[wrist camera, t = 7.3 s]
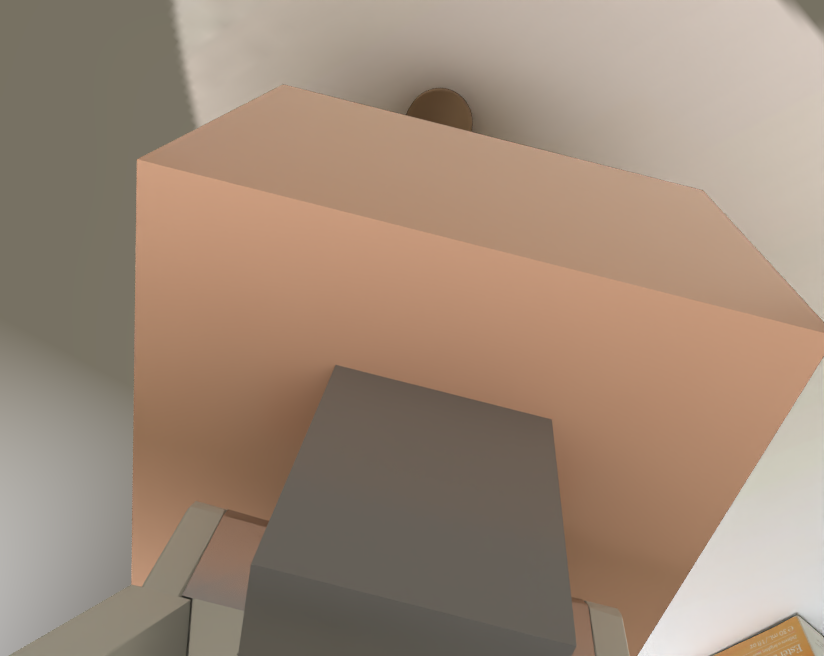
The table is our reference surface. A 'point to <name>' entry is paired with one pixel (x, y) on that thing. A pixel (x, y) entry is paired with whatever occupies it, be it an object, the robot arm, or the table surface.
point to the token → (442, 108)
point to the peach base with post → (444, 377)
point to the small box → (781, 641)
